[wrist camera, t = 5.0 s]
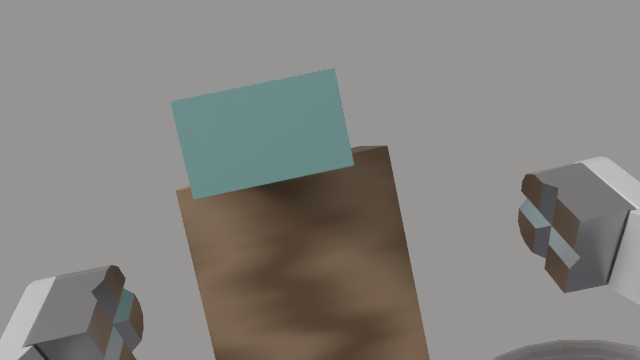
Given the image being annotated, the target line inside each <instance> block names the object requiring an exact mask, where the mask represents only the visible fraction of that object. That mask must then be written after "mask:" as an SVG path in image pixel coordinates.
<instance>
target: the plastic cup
mask: <svg viewBox="0 0 640 360" xmlns="http://www.w3.org/2000/svg"><path fill="white" fill-rule="evenodd" d="M493 360H640V347H638V346H632V345H626V344H619V343H614V342H608V341H602V340H558V341H552V342H546V343H541V344H534V345H528V346H524V347H522V348H519V349H516V350H514V351H511V352H508V353H506V354H503V355H500V356H497V357H496V358H495V359H493Z"/></svg>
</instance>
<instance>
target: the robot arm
mask: <svg viewBox="0 0 640 360" xmlns="http://www.w3.org/2000/svg"><path fill="white" fill-rule="evenodd" d="M521 191H522V192H523V194H524V195H525V196H526V197H527V199H526V200H525V202H524V203H523V204H522V206H521V207H520V208H519V217H518V223H519V227H520V232H521V235H522V237H523V239H524V241H525V243H526V245H527V246H528V247H529V249H530V250H531V251H532V253H535V254H537V255H539V256H541V257H543V258H546V262H545V270H546V271H547V272H548V273H549V275H550V276H551V277H552V278H553V280H554V281H555V282H556V284H557V285H558V286H559V287H560V289H561V290H562V291H563V292H564V293H568V292H574V291H579V290H583V289H588V288H593V287H598V286H603V285H608V287H609V288H611V289H613V290H614V291H616V292H618V293H620V294H622V295H623V296H625V297H627V298H629V299H631V300H633V301H634V302H636V303H638V304H640V182H639V181H637V180H636V179H635V178H633V177H632V176H631V175H629V174H628V173H627V172H625V171H624V170H623V169H622V168H620V167H619V166H618V165H616V164H615V163H614V162H612V161H611V160H610V159H608V158H605V157H601V156H600V157H595V158H591V159H587V160H583V161H579V162H576V163H574V164H568V165H564V166H560V167H556V168H551V169H547V170H542V171H538V172H533V173H529V174H526V175H525V177H524V179H523V181H522V189H521ZM124 283H125V277H124V275H123V274H122V272H121V271H120V269H119V267H117V266H113V265H110V266H105V267H100V268H95V269H90V270H84V271H80V272H75V273H70V274H64V275H61V276H56V277H51V278H47V279H41V280H36V281H34V282H33V283H31V284H30V285H28V287H27V288H26V290H25V292H24V294H23V296H22V298H21V300H20V302H19V304H18V306H17V308H16V310H15V312H14V314H13V316H12V318H11V320H10V322H9V324H8V326H7V328H6V330H5V332H4V334H3V336H2V337H1V339H0V360H136V358H135V357H134V355H133V354H132V351H133V350H134V349H135V348H136V347H137V345H138V344H139V343H140V342H141V340H142V334H143V313H142V310H141V306H140V303H139V301H138V299H137V298H136V296H135V294H133V293H131V292H129V291H127V290H125V289H123V286H124Z"/></svg>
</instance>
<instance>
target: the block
mask: <svg viewBox="0 0 640 360" xmlns="http://www.w3.org/2000/svg"><path fill="white" fill-rule="evenodd" d="M171 106H172V110H173V115H174V119H175V123H176V127H177V132H178V136H179V140H180V144H181V148H182V153H183V157H184V161H185V165H186V170H187V174H188V178H189V182H190V187H191V191H192V196H193V200H194V199H199V198H203V197H208V196H213V195H217V194H222V193H227V192H231V191H236V190H241V189H245V188H250V187H255V186H259V185H264V184H269V183H274V182H278V181H283V180H288V179H292V178H297V177H302V176H306V175H311V174H316V173H320V172H325V171H330V170H334V169H339V168H344V167H349V166H353V165H354V162H353V157H352V152H351V147H350V142H349V138H348V133H347V128H346V123H345V118H344V113H343V108H342V103H341V98H340V93H339V89H338V84H337V79H336V74H335V69H334V68H333V69H328V70H323V71H318V72H314V73H309V74H304V75H299V76H294V77H289V78H284V79H279V80H274V81H269V82H264V83H259V84H255V85H250V86H245V87H240V88H235V89H231V90H225V91H220V92H216V93H210V94H206V95H201V96H196V97H191V98H186V99H181V100H176V101H172V102H171Z"/></svg>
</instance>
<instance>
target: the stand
mask: <svg viewBox="0 0 640 360" xmlns="http://www.w3.org/2000/svg"><path fill="white" fill-rule="evenodd" d="M351 152H352V157H353V162H354V165H353V166H349V167H344V168H339V169H334V170H330V171H325V172H320V173H316V174H311V175H306V176H302V177H297V178H292V179H288V180H283V181H278V182H274V183H269V184H264V185H259V186H255V187H250V188H245V189H241V190H236V191H231V192H227V193H222V194H217V195H213V196H208V197H203V198H199V199H194V200H193V196H192V191H191V187H190V186H187V187H184V188H182V189H179V190H176V194H177V198H178V202H179V206H180V210H181V215H182V219H183V223H184V227H185V231H186V236H187V240H188V244H189V248H190V253H191V257H192V261H193V265H194V270H195V274H196V278H197V282H198V286H199V291H200V294H201V299H202V303H203V308H204V311H205V316H206V320H207V324H208V329H209V333H210V336H211V341H212V345H213V350H214V354H215V358H216V360H430V359H429V354H428V349H427V344H426V339H425V334H424V329H423V323H422V319H421V313H420V309H419V303H418V298H417V293H416V288H415V283H414V278H413V273H412V268H411V263H410V258H409V253H408V248H407V242H406V237H405V232H404V227H403V222H402V217H401V212H400V207H399V202H398V197H397V192H396V187H395V182H394V177H393V172H392V166H391V161H390V156H389V151H388V147H387V146H359V147H354V148H351Z"/></svg>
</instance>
